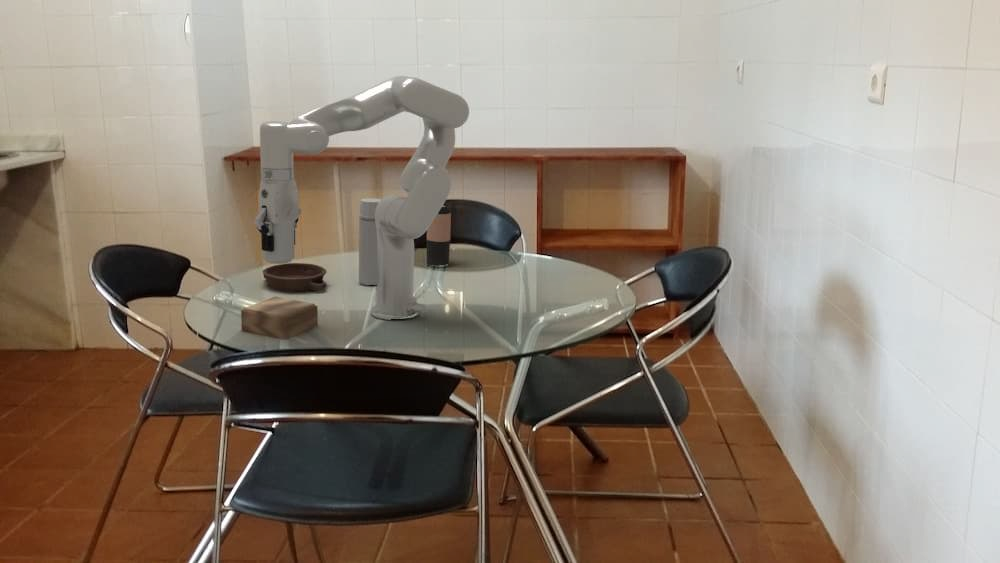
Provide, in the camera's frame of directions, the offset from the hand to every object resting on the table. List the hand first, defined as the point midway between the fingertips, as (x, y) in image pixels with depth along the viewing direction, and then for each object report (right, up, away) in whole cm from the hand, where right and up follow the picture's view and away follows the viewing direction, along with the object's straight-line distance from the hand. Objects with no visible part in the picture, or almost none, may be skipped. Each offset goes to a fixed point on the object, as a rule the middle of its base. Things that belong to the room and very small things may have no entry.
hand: (278, 247), depth 209 cm
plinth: (-1, -20, +5) cm, 20 cm away
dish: (-6, -10, +42) cm, 44 cm away
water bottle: (+16, -9, +49) cm, 52 cm away
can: (0, -3, +1) cm, 4 cm away
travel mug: (+33, -3, +74) cm, 81 cm away
